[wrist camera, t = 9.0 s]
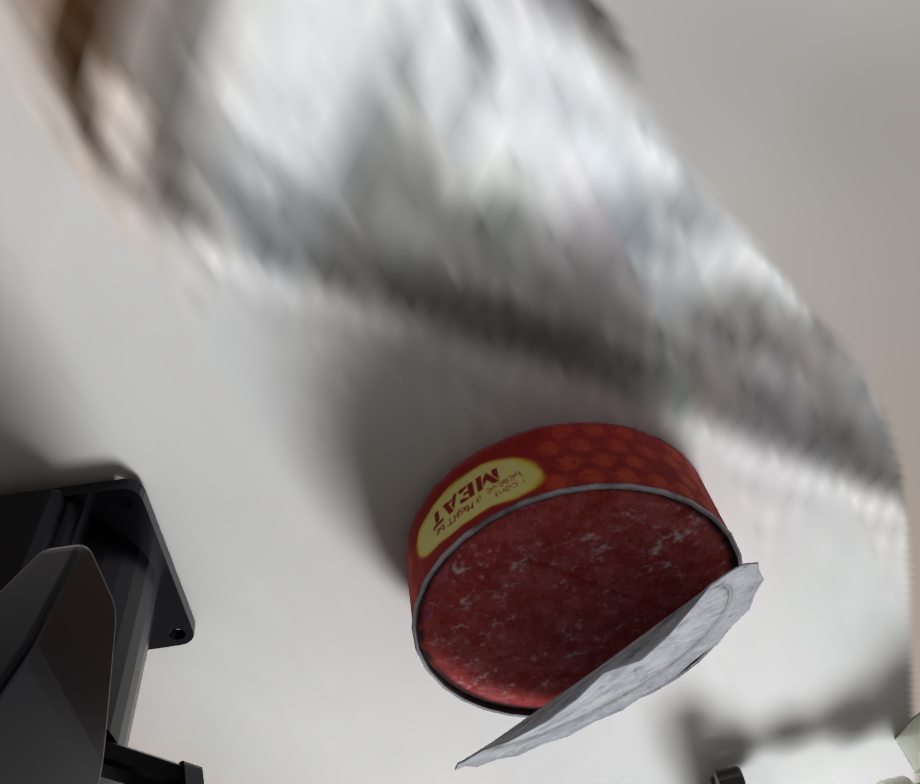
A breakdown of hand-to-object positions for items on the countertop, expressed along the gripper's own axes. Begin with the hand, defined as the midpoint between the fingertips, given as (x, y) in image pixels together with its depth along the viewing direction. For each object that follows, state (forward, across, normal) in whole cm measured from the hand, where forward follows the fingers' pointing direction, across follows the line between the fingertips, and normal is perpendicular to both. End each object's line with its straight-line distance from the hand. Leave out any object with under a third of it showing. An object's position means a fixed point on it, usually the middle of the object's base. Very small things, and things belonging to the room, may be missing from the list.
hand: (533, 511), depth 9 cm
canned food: (+13, -3, +14) cm, 20 cm away
